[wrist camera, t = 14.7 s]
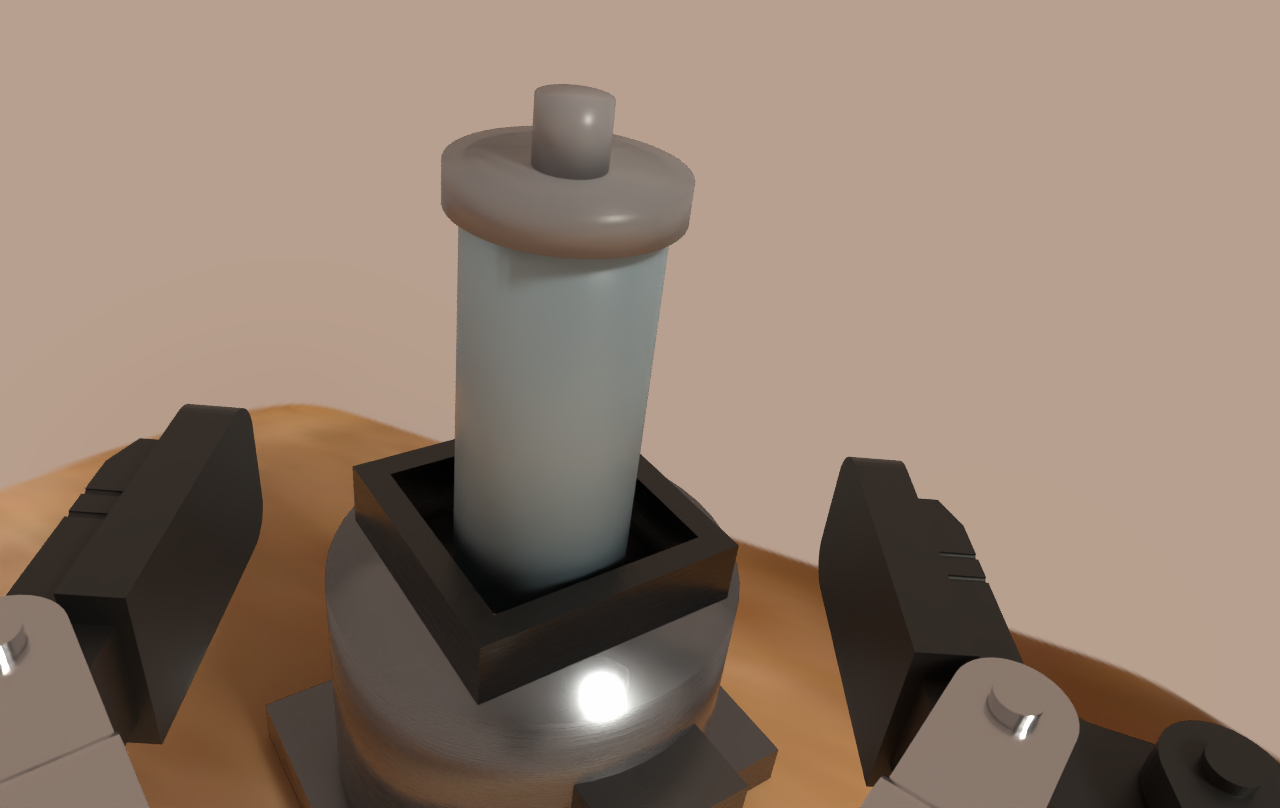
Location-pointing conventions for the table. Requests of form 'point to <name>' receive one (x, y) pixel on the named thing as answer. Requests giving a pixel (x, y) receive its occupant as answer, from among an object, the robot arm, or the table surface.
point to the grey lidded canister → (554, 338)
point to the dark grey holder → (520, 666)
